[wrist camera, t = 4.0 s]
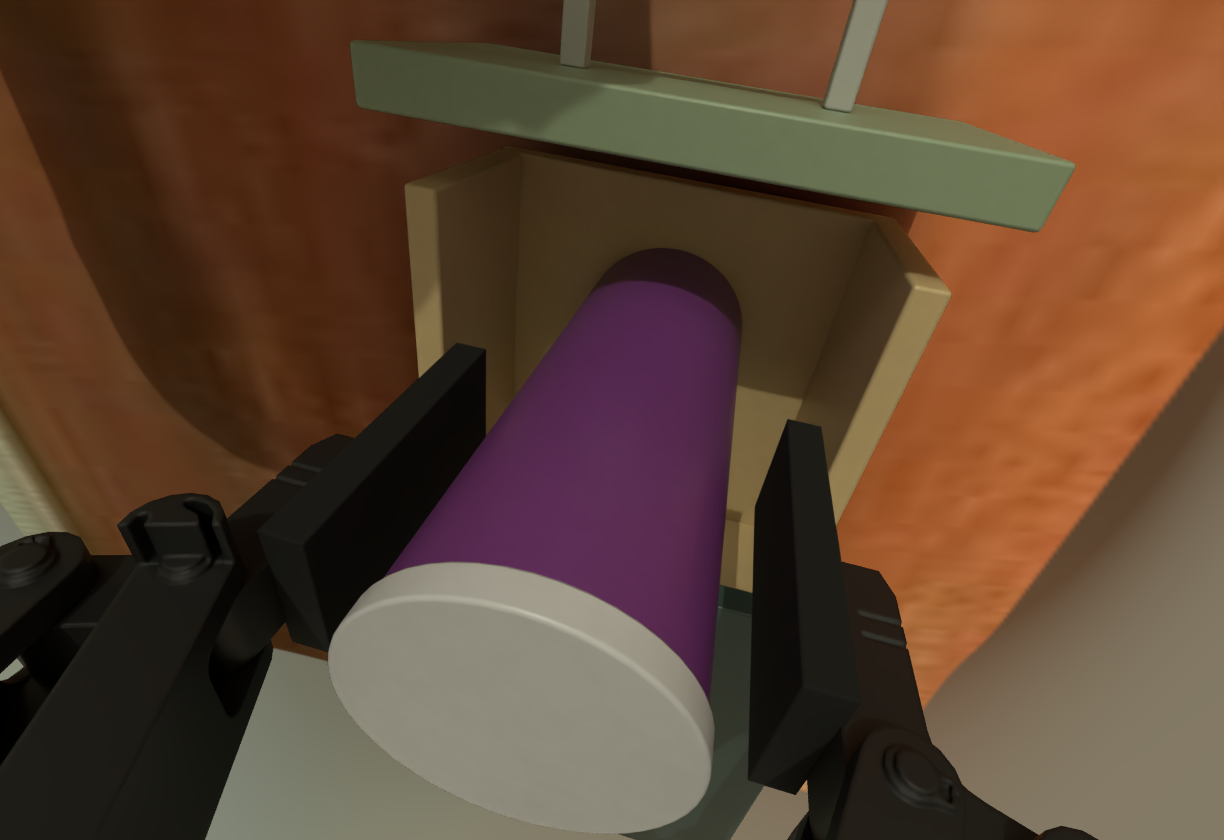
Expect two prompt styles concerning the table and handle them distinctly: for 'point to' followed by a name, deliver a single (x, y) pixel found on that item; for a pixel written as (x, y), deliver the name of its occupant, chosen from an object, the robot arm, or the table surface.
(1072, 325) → the table surface
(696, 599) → the snack tube
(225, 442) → the table surface
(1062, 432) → the table surface
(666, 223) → the drawer
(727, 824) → the cabinet
